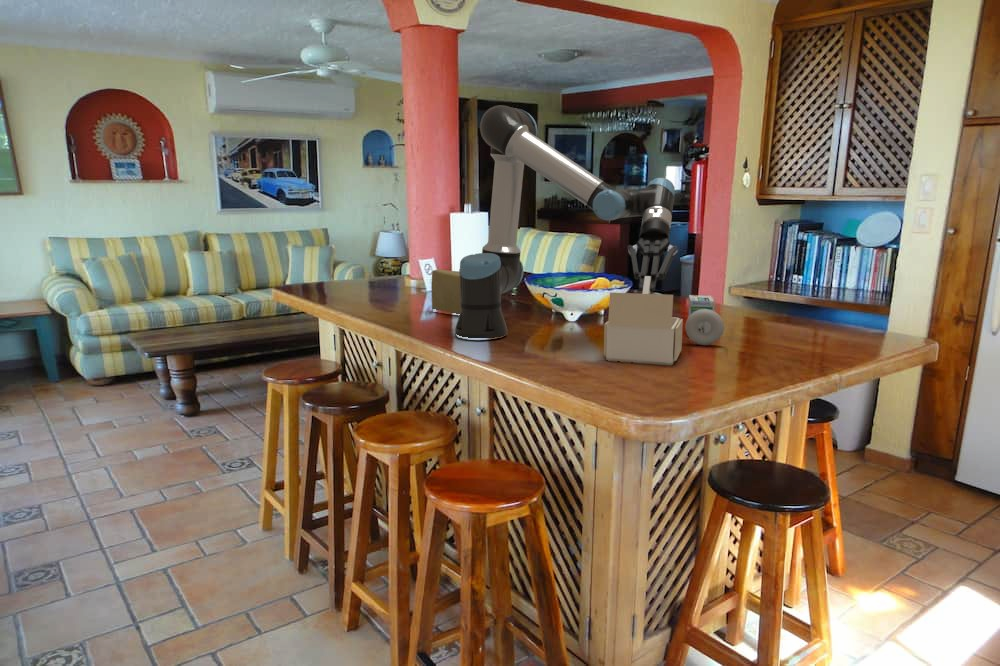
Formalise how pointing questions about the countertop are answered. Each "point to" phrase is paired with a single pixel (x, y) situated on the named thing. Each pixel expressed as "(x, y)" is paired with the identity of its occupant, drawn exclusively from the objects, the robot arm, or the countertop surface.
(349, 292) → the countertop surface
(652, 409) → the countertop surface
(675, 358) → the carton
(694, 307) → the light bulb box
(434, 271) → the brown box
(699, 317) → the donut
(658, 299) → the flap
